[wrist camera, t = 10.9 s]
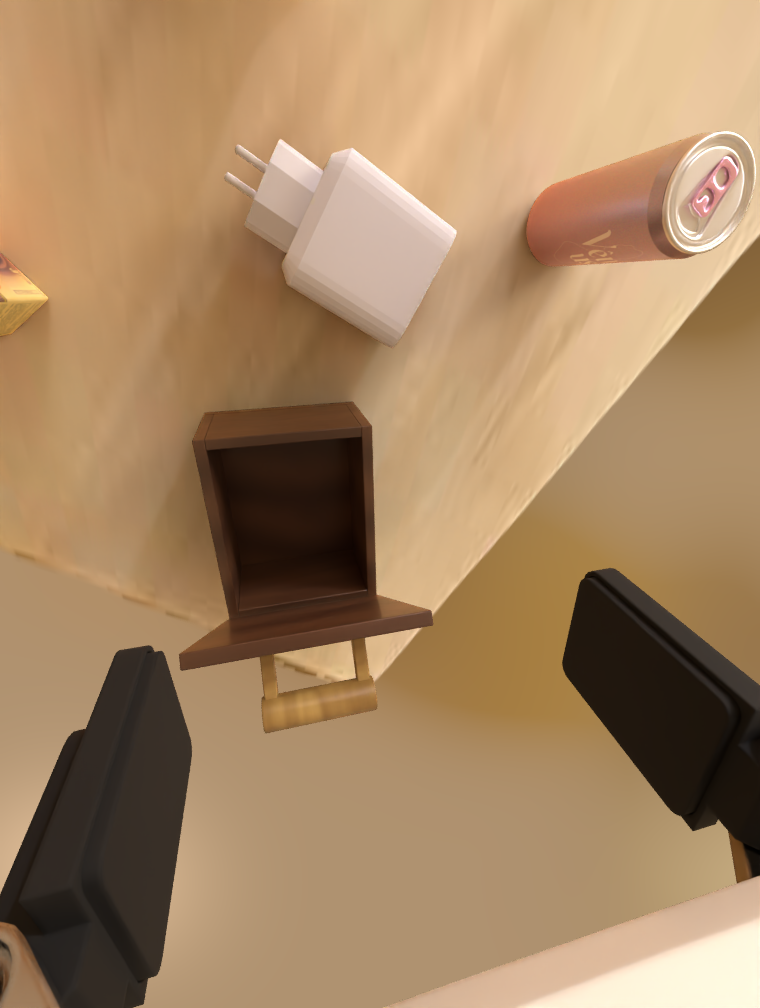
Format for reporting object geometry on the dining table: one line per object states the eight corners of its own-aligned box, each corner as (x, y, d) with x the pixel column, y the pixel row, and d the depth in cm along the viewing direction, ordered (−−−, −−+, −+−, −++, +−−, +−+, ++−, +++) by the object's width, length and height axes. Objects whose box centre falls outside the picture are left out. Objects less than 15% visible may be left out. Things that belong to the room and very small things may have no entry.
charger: (260, 99, 30) (438, 236, 36) (206, 236, 32) (381, 342, 38) (260, 68, 26) (461, 229, 32) (198, 228, 28) (395, 349, 34)
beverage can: (600, 216, 38) (777, 180, 25) (555, 281, 40) (700, 280, 26) (554, 165, 36) (724, 95, 23) (508, 236, 37) (643, 210, 24)
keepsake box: (204, 412, 38) (191, 440, 31) (353, 401, 40) (372, 425, 33) (234, 568, 44) (229, 619, 38) (359, 550, 47) (376, 596, 40)
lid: (178, 653, 21) (188, 767, 21) (431, 610, 24) (447, 710, 23) (228, 618, 37) (235, 681, 37) (377, 594, 40) (385, 653, 39)
